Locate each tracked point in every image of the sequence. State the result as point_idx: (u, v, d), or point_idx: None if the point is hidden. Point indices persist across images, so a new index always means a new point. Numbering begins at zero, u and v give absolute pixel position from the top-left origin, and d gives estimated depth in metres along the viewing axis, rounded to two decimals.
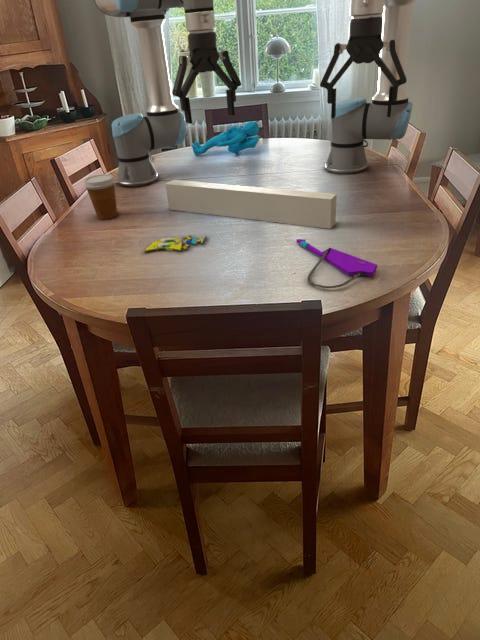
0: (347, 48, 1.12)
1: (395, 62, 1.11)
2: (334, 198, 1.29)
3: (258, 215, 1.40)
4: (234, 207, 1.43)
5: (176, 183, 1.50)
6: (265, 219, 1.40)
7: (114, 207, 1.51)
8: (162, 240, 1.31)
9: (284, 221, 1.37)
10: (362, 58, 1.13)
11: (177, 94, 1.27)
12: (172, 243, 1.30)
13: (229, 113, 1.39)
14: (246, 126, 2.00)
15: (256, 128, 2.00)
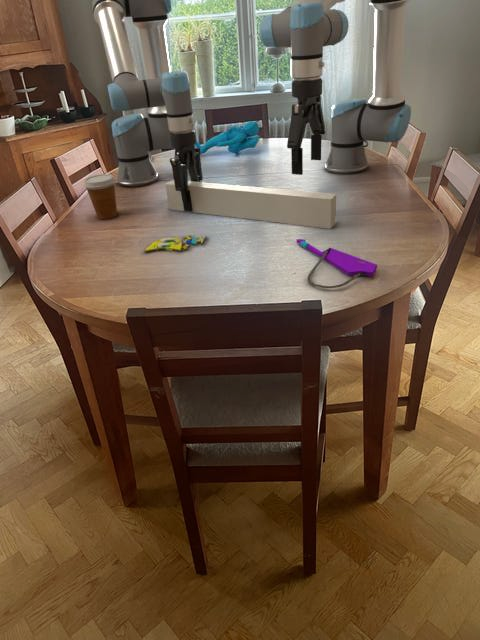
0: (304, 107, 1.16)
1: (321, 113, 1.26)
2: (334, 198, 1.29)
3: (258, 215, 1.40)
4: (234, 207, 1.43)
5: None
6: (265, 219, 1.40)
7: (114, 207, 1.51)
8: (162, 240, 1.31)
9: (284, 221, 1.37)
10: (310, 114, 1.20)
11: (183, 189, 1.44)
12: (172, 243, 1.30)
13: None
14: (246, 126, 2.00)
15: (256, 128, 2.00)
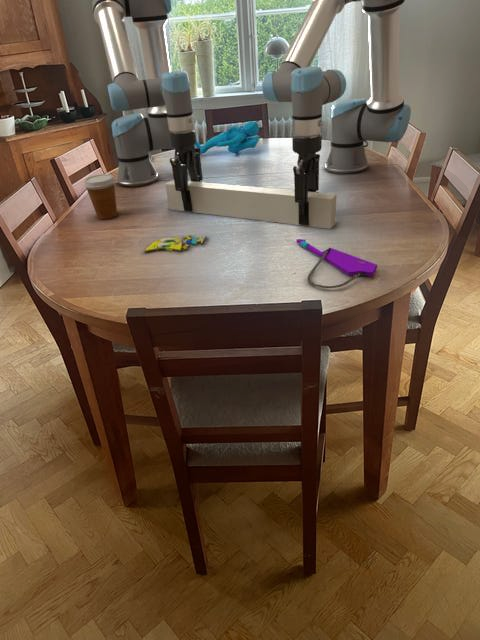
0: (305, 164, 1.24)
1: (317, 172, 1.32)
2: (334, 198, 1.29)
3: (258, 215, 1.40)
4: (234, 207, 1.43)
5: None
6: (265, 219, 1.40)
7: (114, 207, 1.51)
8: (162, 240, 1.31)
9: (284, 221, 1.37)
10: None
11: (183, 189, 1.44)
12: (172, 243, 1.30)
13: None
14: (246, 126, 2.00)
15: (256, 128, 2.00)
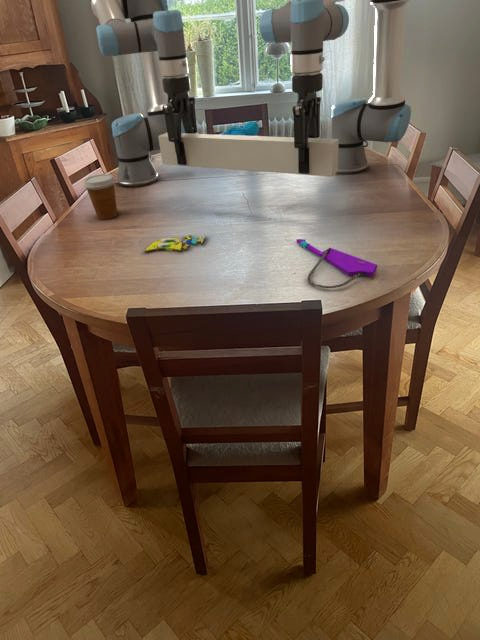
0: (305, 104, 1.16)
1: (318, 117, 1.25)
2: (336, 143, 1.22)
3: (256, 165, 1.33)
4: (230, 158, 1.35)
5: None
6: (263, 169, 1.32)
7: (114, 207, 1.51)
8: (162, 240, 1.31)
9: (283, 171, 1.30)
10: None
11: (176, 140, 1.37)
12: (172, 243, 1.30)
13: None
14: (246, 126, 2.00)
15: (256, 128, 2.00)
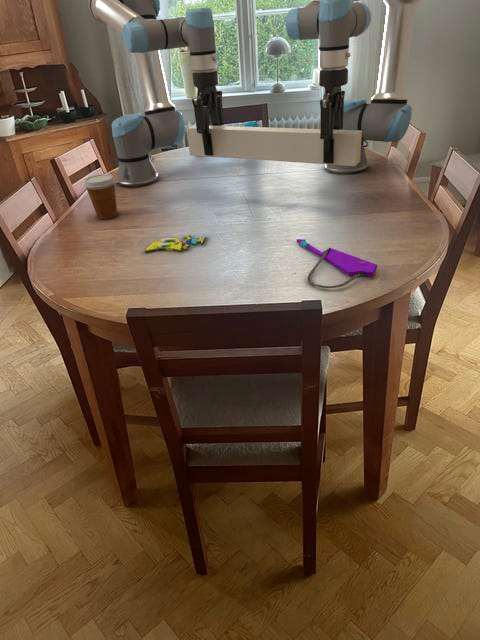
0: (331, 97, 1.24)
1: (342, 109, 1.32)
2: (360, 134, 1.29)
3: (281, 155, 1.40)
4: (257, 149, 1.42)
5: None
6: (288, 160, 1.40)
7: (114, 207, 1.51)
8: (162, 240, 1.31)
9: (308, 161, 1.37)
10: None
11: (204, 131, 1.44)
12: (172, 243, 1.30)
13: None
14: (246, 126, 2.00)
15: None
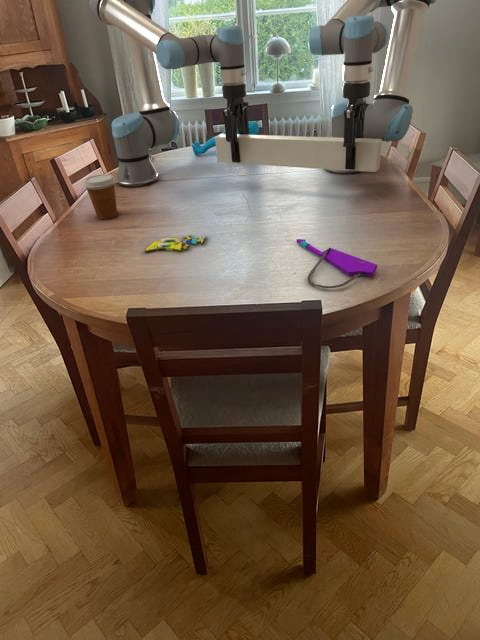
0: (355, 108, 1.33)
1: (363, 119, 1.42)
2: (380, 142, 1.39)
3: (305, 162, 1.49)
4: (282, 156, 1.52)
5: (225, 136, 1.59)
6: (312, 166, 1.49)
7: (114, 207, 1.51)
8: (162, 240, 1.31)
9: (331, 167, 1.46)
10: None
11: (233, 140, 1.54)
12: (172, 243, 1.30)
13: None
14: None
15: (256, 128, 2.00)
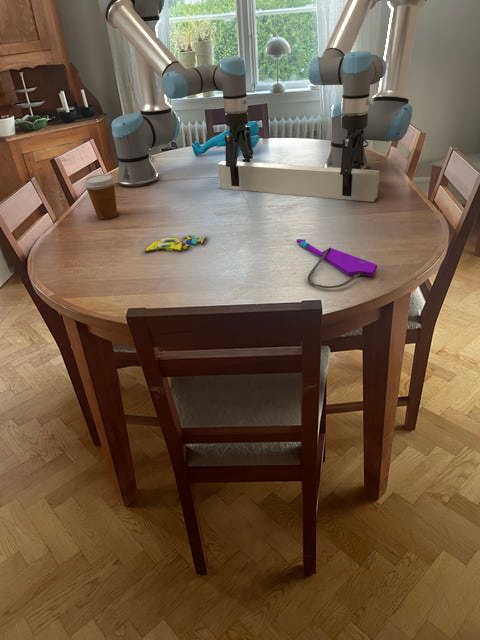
0: (353, 138, 1.38)
1: (362, 145, 1.47)
2: (377, 174, 1.44)
3: (305, 191, 1.55)
4: (282, 184, 1.57)
5: None
6: (312, 195, 1.54)
7: (114, 207, 1.51)
8: (162, 240, 1.31)
9: (330, 196, 1.52)
10: None
11: (233, 165, 1.56)
12: (172, 243, 1.30)
13: None
14: None
15: (256, 128, 2.00)
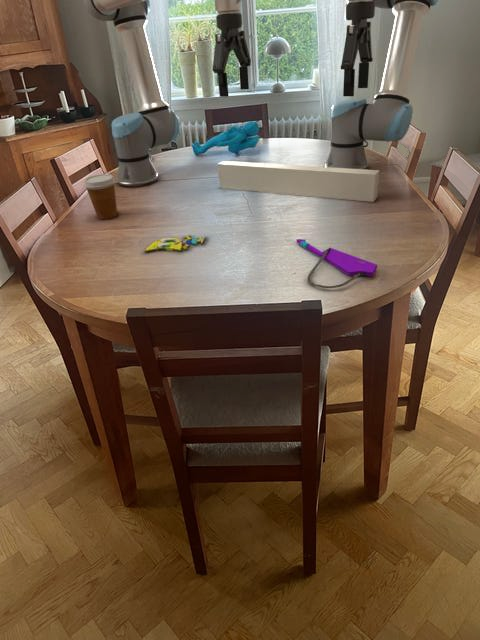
0: (358, 29, 1.23)
1: (370, 40, 1.33)
2: (377, 174, 1.44)
3: (305, 191, 1.55)
4: (282, 184, 1.57)
5: (228, 163, 1.64)
6: (312, 195, 1.54)
7: (114, 207, 1.51)
8: (162, 240, 1.31)
9: (330, 196, 1.52)
10: None
11: (220, 69, 1.39)
12: (172, 243, 1.30)
13: (242, 88, 1.56)
14: (246, 126, 2.00)
15: (256, 128, 2.00)
